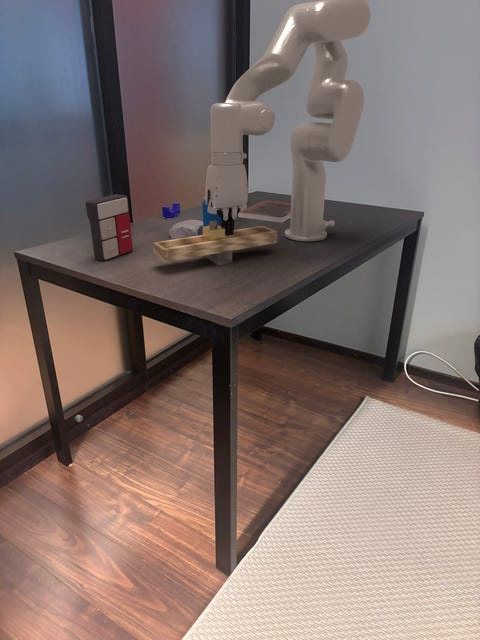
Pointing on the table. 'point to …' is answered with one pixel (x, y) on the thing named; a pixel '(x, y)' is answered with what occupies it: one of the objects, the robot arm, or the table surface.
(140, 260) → the table surface
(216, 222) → the rider
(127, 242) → the drawer cabinet
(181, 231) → the stone block
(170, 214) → the cable holder
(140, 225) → the table surface
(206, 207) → the beverage can
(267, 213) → the picture frame
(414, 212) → the table surface
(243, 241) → the beam
